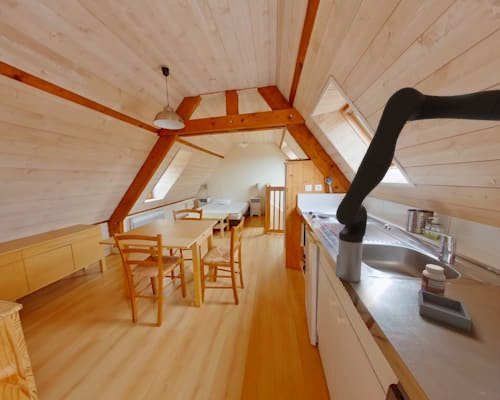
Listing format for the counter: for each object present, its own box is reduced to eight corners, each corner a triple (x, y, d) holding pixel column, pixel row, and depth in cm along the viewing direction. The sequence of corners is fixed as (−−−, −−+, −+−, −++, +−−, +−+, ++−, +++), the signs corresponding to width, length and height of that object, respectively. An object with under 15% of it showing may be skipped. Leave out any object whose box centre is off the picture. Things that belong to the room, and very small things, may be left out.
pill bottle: (420, 288, 73) (423, 261, 72) (443, 294, 69) (446, 266, 68) (420, 295, 69) (423, 267, 67) (444, 302, 64) (447, 272, 63)
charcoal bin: (419, 314, 59) (420, 304, 58) (418, 298, 67) (418, 289, 66) (470, 332, 52) (471, 320, 51) (462, 312, 60) (463, 301, 59)
